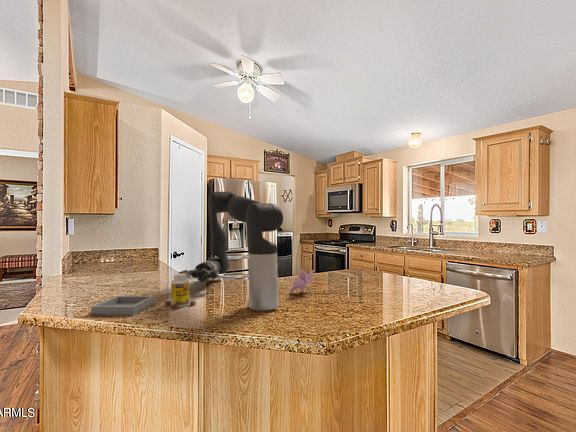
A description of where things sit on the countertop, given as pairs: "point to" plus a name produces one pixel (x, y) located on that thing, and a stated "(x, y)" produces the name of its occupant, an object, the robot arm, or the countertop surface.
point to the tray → (123, 306)
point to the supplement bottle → (180, 290)
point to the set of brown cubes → (176, 306)
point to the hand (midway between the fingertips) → (192, 277)
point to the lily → (302, 281)
